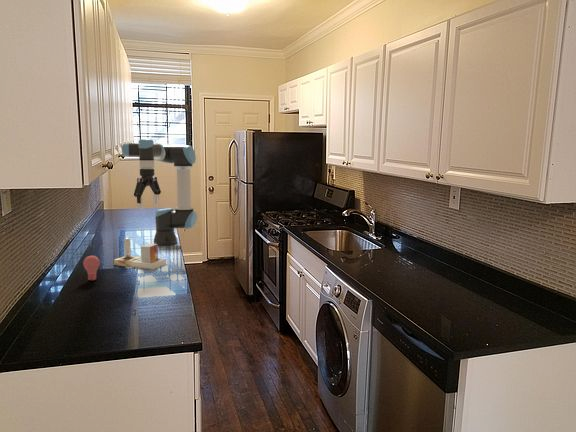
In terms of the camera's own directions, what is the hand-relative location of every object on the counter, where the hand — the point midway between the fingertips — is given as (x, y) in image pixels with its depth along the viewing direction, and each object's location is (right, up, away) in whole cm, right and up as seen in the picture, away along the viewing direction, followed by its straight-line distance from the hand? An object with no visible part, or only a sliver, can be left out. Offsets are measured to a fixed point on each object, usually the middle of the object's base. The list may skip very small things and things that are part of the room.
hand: (148, 207), depth 237 cm
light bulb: (-18, -35, -28) cm, 48 cm away
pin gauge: (-12, -31, +2) cm, 33 cm away
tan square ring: (-12, -31, +2) cm, 33 cm away
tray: (+1, -31, -1) cm, 31 cm away
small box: (+1, -31, 0) cm, 31 cm away
